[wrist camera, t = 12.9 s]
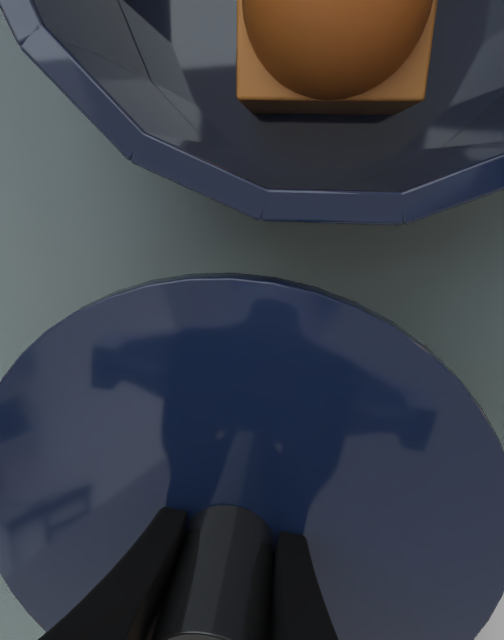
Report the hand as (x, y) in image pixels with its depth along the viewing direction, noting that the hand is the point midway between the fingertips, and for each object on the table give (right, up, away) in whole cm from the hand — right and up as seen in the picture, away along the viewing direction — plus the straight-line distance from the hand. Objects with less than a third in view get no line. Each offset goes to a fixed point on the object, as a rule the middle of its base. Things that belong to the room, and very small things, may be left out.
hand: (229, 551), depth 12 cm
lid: (0, 0, +1) cm, 1 cm away
